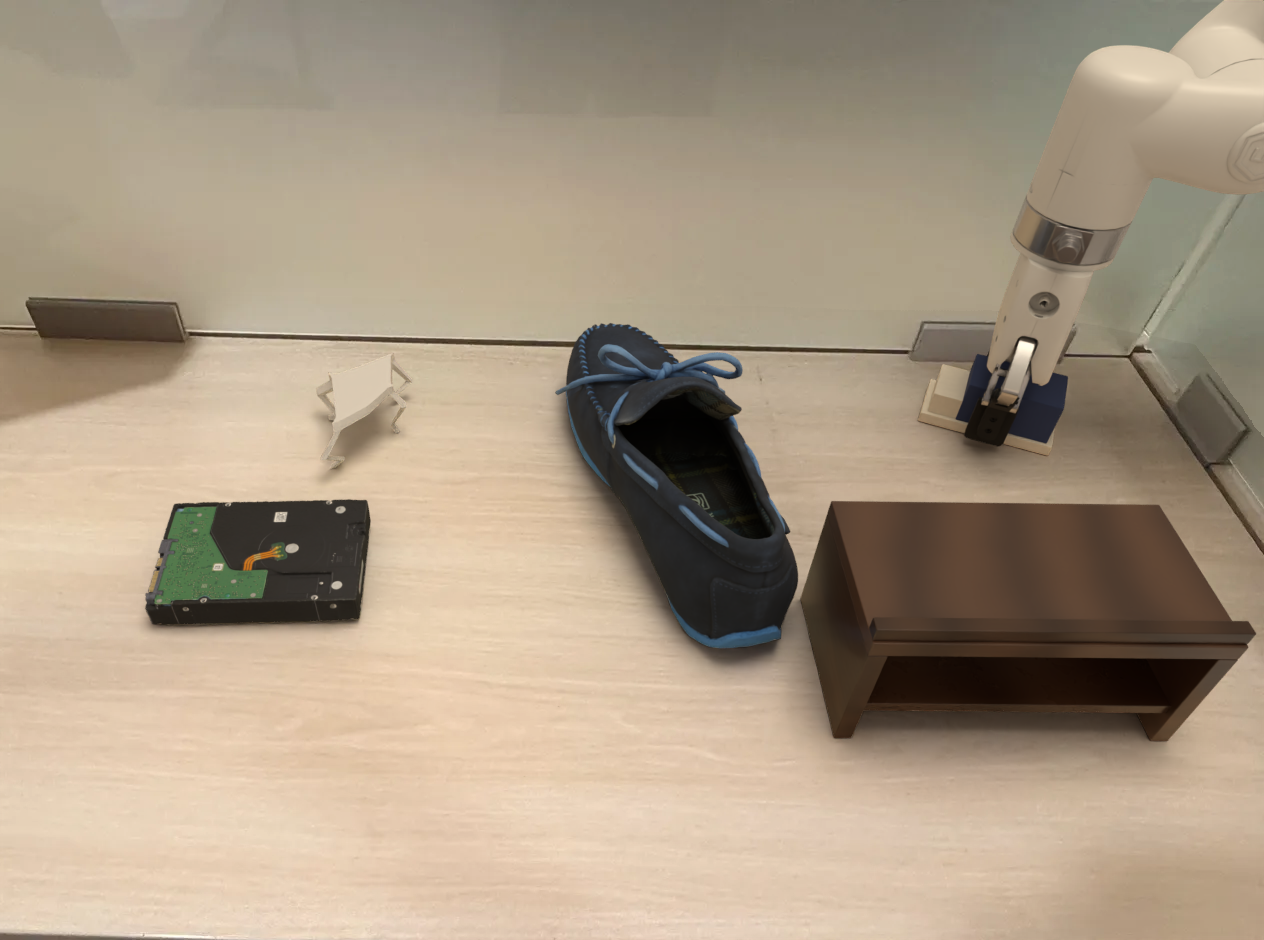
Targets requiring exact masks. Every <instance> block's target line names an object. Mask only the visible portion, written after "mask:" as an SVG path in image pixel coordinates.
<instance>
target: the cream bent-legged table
mask: <svg viewBox="0 0 1264 940" xmlns="http://www.w3.org/2000/svg"><path fill="white" fill-rule="evenodd" d="M393 371H394V372H395V373H396V374H398V375H399V376H400V377H401V378H402V379H403V380H404V382H403V383H402V384H401V385H400V387H399V388H398V389H396V391H395V390H394V385H393ZM328 378H329V380H328V381H326V382H324V383H323V384H321V385H319V386H317V387H316V388H315V391H316V396H317V397H318V398H319V399H320V401H321V402H322V403H323V404H324V405H325V406H326V408H327V409H328V410H329V411H330V413H332V414H327V417H328V421H332V422H331V426H332V430H333V434H332V436H331V438H330V440H329V442H328V444H327V446H326V448H325V449H324V450H323V452H322V454H321V457H320V460H321V461H330V462H331V461H333V463H332V464H330V468H329V469H330V470H333V469H336V468H337V467H338V466H339V465H341V464H342V463H343V462H344V461H345V459H346V457H345V456H338V455H330V454H331V452H332V450H333V447H334V446H335V445H336V442H337V440H338V438H339V436H340V434H341V432H342V431H343V430H344V429H346V428H348V427H350V426H351V425H353V424H354V423H356V422H358V421H360V420H362V419H363V418H365V417H367V416H368V415H370V414H371V413H372V412H373V411H374V410H375V409H376V408H377V407H379V406H380V405H381V404H382V403H383V402H384V401H385V400H386V399H387V398H388V397H389V396H390V397H391V399H392V400H394V401H395V402H396V403H397V405H399V406H400V407H399V409H398V411H397V412H396V414H395V416H394V418H393V420H392V422H391V423H390V428H391V430H392V431H393V432H394V433H395V434H399V433H400V430H401V429H400V428H399V426H397V425H396V423H397V421H398V420H399V419H400V417H401V415H402V413H403V412H404V411H405V410H406V408H407V402H406V401H405V399H403V398H402V397H401V396H400V394H401V393H402V392H404V391H405V390H406V389H407V388H408V387H409V386H410V385H411V384H412V383H413V381H414V378H412V377H411V376H410V374H409V373H408V372H407V371H406V370H405V368H404V367H402V365H401V364H400V363H399V362H398V361H397V360H396V359H395V354H394V352H391V353H389V354H385V355H383V356H381V357H378V358H375V359H373V360H371V361H368V362H366V363H363V364H361V365H358V366H355V367H352V368H348V369H346V370H342V371H340V372H337V373H333V372H328ZM330 393H333V394H332V395H333V402H332V401H331V399H330V398H329V396H328V394H330ZM333 403H334V404H333Z"/></svg>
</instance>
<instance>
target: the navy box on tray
mask: <svg viewBox="0 0 1264 940" xmlns="http://www.w3.org/2000/svg"><path fill="white" fill-rule="evenodd" d="M988 357H989V356H987V355H984V354H980V353H977V354H976V355H975V358H974V360H973V363H972V365H971V367H970V370H968V369H965V368H960V367H957V366H952V365H949V364H944V363H942V365H941V367H940V370H939V372H938V375H937V378H936V379H934V378H930V380H929V383H928V384H927V388H926V391H925V395H924V398H923V402H922V405H921V408H920V411H919V415H918V418H917V421H918V422H921V423H924V424H928V425H931V426H932V425H933V426H935V427H939V428H944V429H947V430H951V431H955V432H958V433H961V434H964V433H965V429H966V427H967V425H968V422H969V420H970V418H971V415H972V413H973V410H974V408H975V406H976V403H977V401H978V399H979V397H982V398H983V396H984V393H985V391H986V388H987V385H988V382H989V380H990V377H991V374H992V373H991V372H990V371H989V370H988V368H987V361H988ZM1009 365H1010V362H1006V361H1004V362H1003V363H1002V364H1001V367H1000V368H1003V369H1007V370H1008V368H1009ZM1004 380H1005V377H1001V376H999V378H998V381H997V383H996V386H995V389H994V391H995V390H996V389H997V388H1000V389H1001V386H1002V385H1003V383H1004ZM1068 381H1069V376H1068V375H1065V374H1061V373H1056V372H1053V373H1052V375H1051V378H1050V380H1049V382H1048V383H1047V384H1045V385H1043V386H1039V385H1038V384H1036V383H1032V373H1031V376H1030V379H1029V381H1028V384H1027V386H1026V389H1025V391H1024V394H1023V397H1022V399H1021V402H1020V404H1019V411H1018V413H1017V415H1016V417H1015V420H1014V422H1013V424H1012V426H1011V428H1010V430H1009V432H1008V435H1007V437H1006V439H1005V441H1004V443H1003V445H1006V446H1009V447H1012V448H1013V447H1014V448H1016V449H1021V450H1023V451H1024V450H1025V451H1028V452H1032V453H1036V454H1039V455H1043V456H1049V455H1050V453H1051V451H1052V449H1053V445H1054V438H1055V431H1056V426H1057V424H1058V422H1059V420H1060V418H1061V416H1062V414H1063V412H1064V410H1065V405H1066V397H1067V389H1068V383H1069V382H1068Z"/></svg>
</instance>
